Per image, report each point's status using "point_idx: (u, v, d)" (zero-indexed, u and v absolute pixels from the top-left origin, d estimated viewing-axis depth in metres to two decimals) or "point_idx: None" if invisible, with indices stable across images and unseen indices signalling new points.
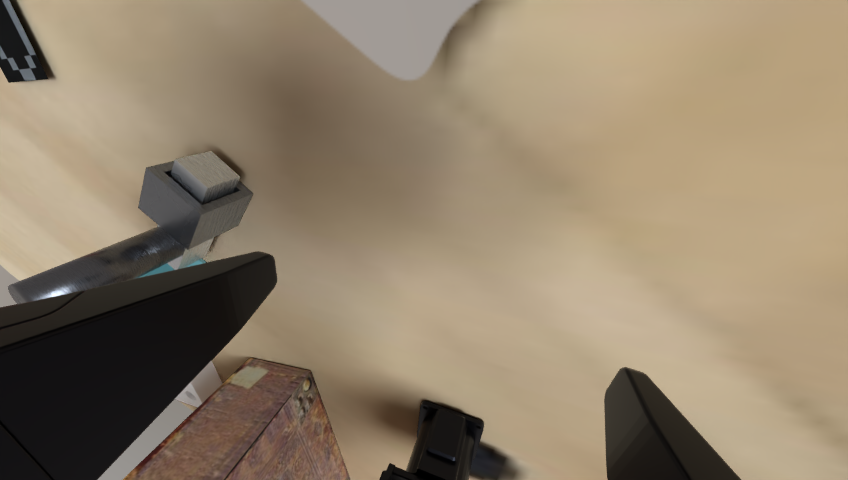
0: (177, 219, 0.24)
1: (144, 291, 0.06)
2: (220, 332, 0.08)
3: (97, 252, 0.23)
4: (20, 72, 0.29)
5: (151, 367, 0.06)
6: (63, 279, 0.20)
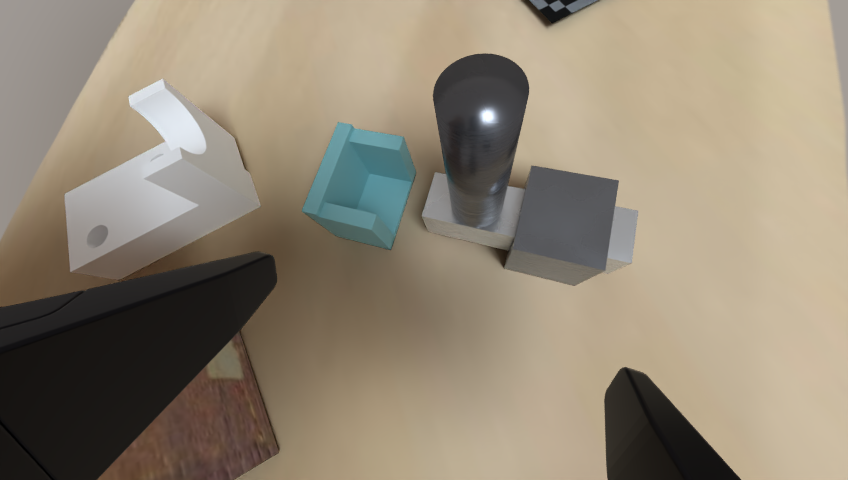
0: (562, 230, 0.16)
1: (144, 291, 0.06)
2: (220, 332, 0.08)
3: None
4: None
5: (151, 367, 0.06)
6: (519, 133, 0.11)
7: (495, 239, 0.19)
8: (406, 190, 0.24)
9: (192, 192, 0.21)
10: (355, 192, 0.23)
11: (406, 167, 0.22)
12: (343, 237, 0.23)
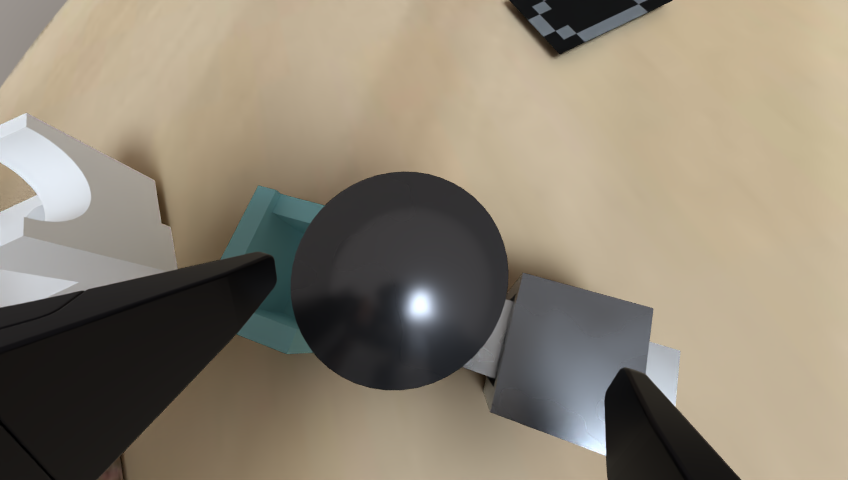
0: (567, 385, 0.11)
1: (144, 291, 0.06)
2: (220, 332, 0.08)
3: None
4: (536, 15, 0.21)
5: (151, 367, 0.06)
6: None
7: None
8: None
9: (61, 270, 0.15)
10: (289, 271, 0.17)
11: None
12: None
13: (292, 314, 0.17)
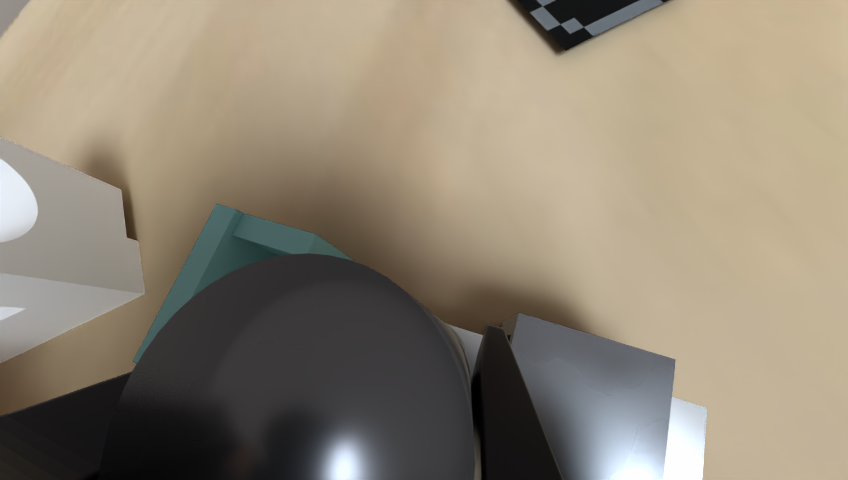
0: (571, 455, 0.09)
1: None
2: None
3: (462, 349, 0.06)
4: (539, 8, 0.19)
5: None
6: None
7: None
8: None
9: (0, 298, 0.13)
10: None
11: None
12: None
13: None
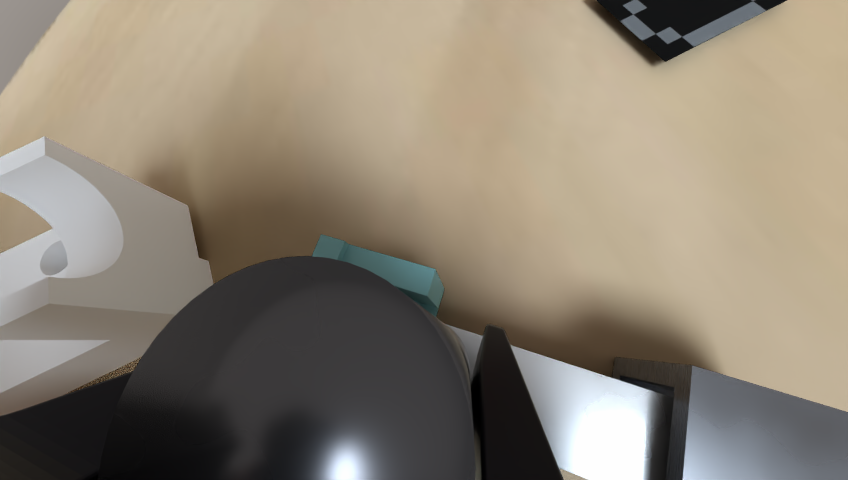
0: None
1: None
2: None
3: (462, 350, 0.06)
4: (629, 16, 0.18)
5: None
6: None
7: None
8: None
9: (91, 332, 0.12)
10: None
11: (434, 301, 0.13)
12: None
13: None
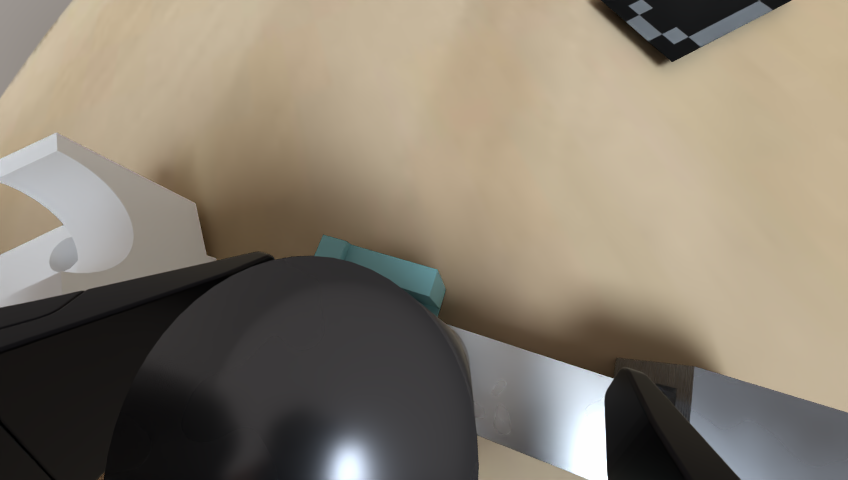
0: None
1: (144, 291, 0.06)
2: None
3: (463, 350, 0.06)
4: (635, 16, 0.18)
5: None
6: None
7: None
8: None
9: None
10: None
11: (435, 301, 0.13)
12: None
13: None
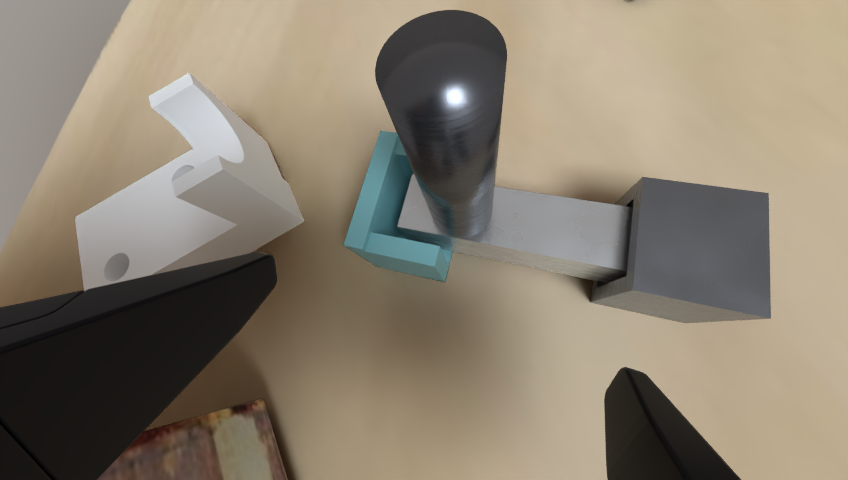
0: (699, 262, 0.12)
1: (144, 291, 0.06)
2: (220, 332, 0.08)
3: None
4: None
5: (151, 367, 0.06)
6: (499, 118, 0.08)
7: (486, 250, 0.16)
8: None
9: (231, 210, 0.17)
10: (399, 214, 0.19)
11: None
12: (385, 268, 0.19)
13: None
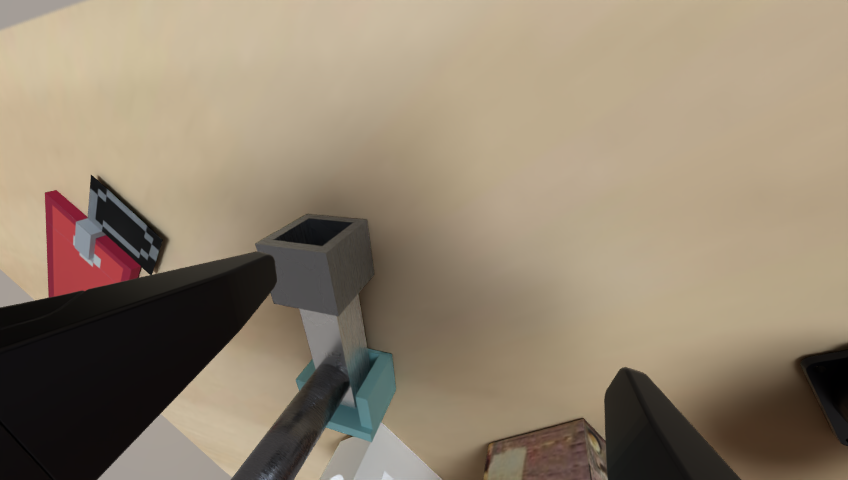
0: (309, 283, 0.19)
1: (144, 291, 0.06)
2: (220, 332, 0.08)
3: (276, 421, 0.20)
4: (150, 256, 0.31)
5: (151, 367, 0.06)
6: (257, 466, 0.18)
7: (355, 355, 0.24)
8: None
9: None
10: None
11: None
12: (394, 385, 0.29)
13: None
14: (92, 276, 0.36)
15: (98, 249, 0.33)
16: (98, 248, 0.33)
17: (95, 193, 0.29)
